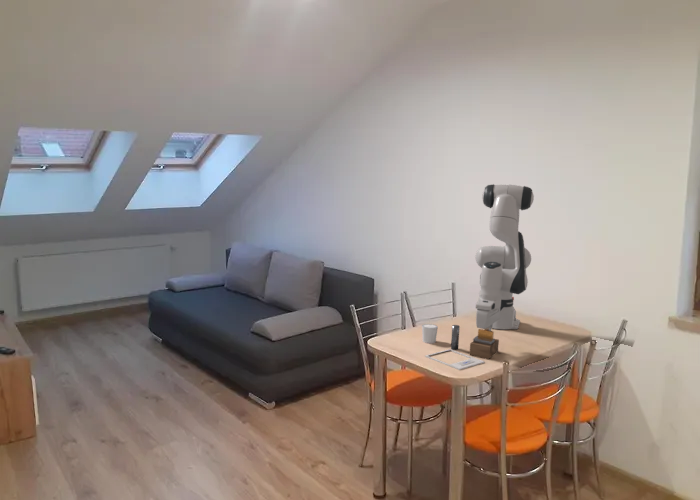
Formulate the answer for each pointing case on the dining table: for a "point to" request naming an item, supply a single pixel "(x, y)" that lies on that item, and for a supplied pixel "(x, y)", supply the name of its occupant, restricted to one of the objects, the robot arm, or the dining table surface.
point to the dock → (484, 349)
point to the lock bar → (484, 337)
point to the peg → (455, 337)
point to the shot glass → (429, 333)
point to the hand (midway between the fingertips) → (487, 334)
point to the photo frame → (460, 364)
